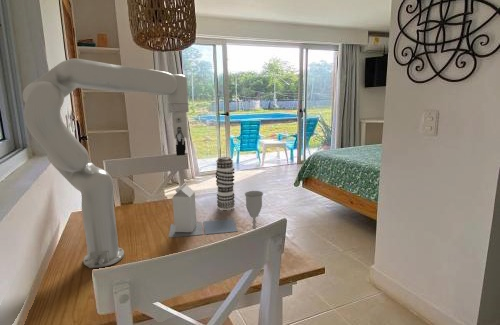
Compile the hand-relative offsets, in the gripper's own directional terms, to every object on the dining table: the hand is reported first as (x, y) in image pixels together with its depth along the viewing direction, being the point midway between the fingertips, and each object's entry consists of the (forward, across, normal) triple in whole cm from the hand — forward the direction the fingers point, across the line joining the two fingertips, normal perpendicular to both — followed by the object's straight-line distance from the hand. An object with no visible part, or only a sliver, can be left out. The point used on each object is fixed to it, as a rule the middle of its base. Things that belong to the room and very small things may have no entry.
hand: (181, 152), depth 121 cm
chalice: (+32, -14, -26) cm, 44 cm away
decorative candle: (+32, +22, -19) cm, 43 cm away
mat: (+32, 0, -14) cm, 35 cm away
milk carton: (+32, 0, 0) cm, 32 cm away
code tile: (+32, 0, 0) cm, 32 cm away
